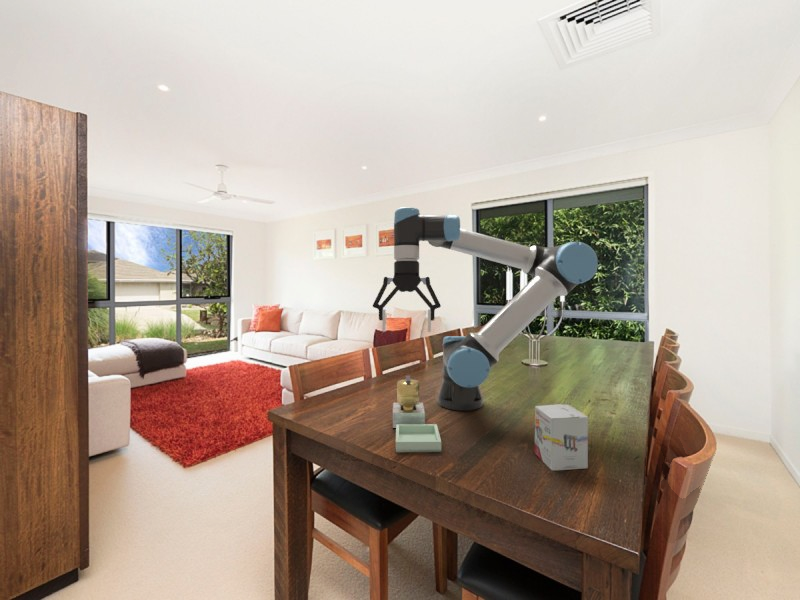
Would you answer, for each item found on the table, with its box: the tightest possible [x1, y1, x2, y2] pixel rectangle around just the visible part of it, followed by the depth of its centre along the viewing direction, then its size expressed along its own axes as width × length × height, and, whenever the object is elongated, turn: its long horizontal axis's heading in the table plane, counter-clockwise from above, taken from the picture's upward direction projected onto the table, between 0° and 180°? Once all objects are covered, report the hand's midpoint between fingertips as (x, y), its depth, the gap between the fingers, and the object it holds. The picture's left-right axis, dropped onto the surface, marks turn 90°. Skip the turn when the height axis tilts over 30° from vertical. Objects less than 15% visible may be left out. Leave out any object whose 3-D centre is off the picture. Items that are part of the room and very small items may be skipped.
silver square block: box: [392, 402, 426, 429], centre depth 105 cm, size 9×9×4 cm
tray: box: [395, 423, 442, 453], centre depth 92 cm, size 11×11×2 cm
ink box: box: [534, 403, 589, 472], centre depth 82 cm, size 9×9×12 cm
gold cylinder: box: [396, 375, 420, 410], centre depth 105 cm, size 6×6×13 cm
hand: (406, 331), depth 108 cm, fingers open, 13 cm apart
